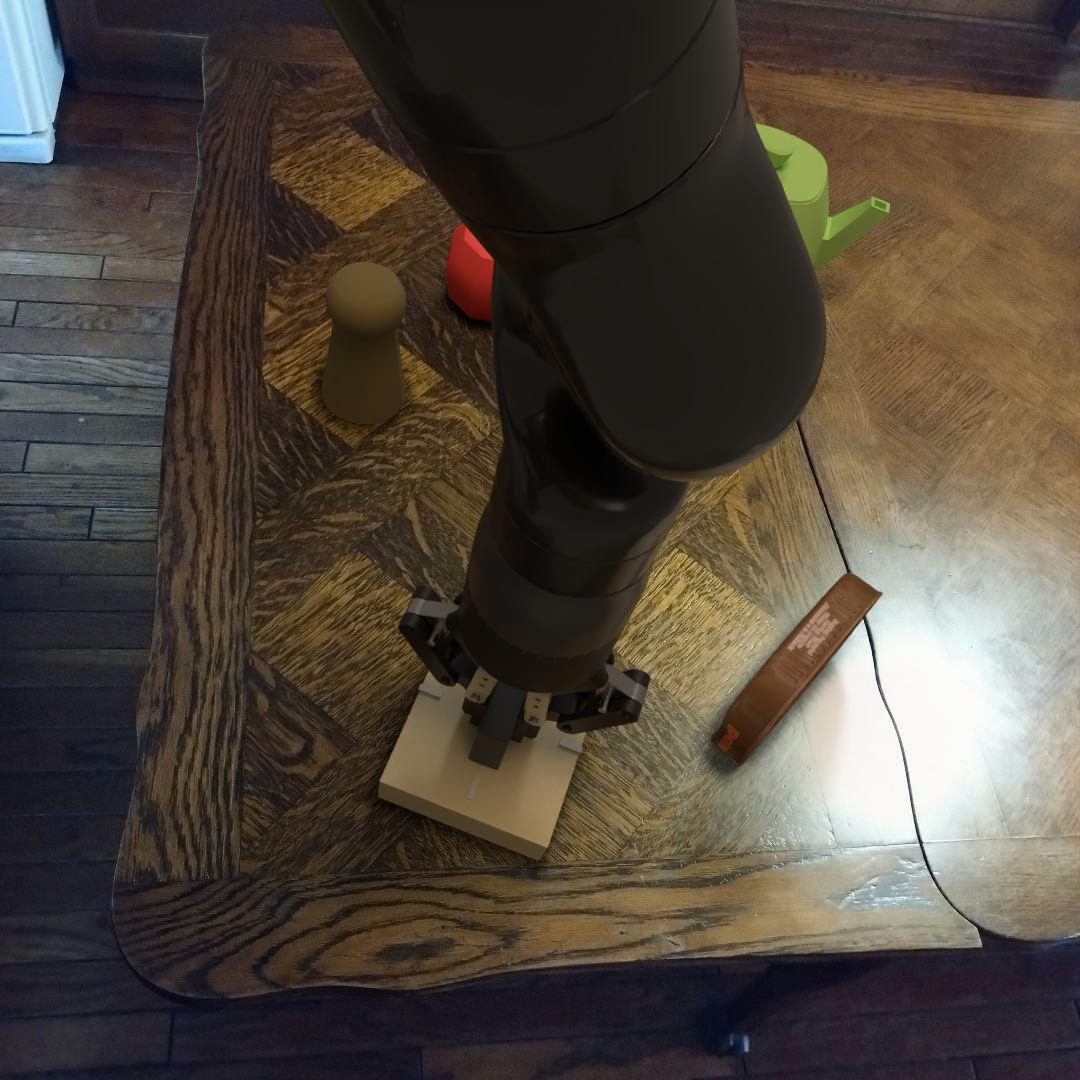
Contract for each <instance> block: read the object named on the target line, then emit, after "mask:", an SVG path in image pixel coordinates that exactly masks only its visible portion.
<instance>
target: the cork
mask: <svg viewBox="0 0 1080 1080" xmlns="http://www.w3.org/2000/svg"><path fill="white" fill-rule="evenodd" d="M324 294H325V307H326V308H325V309H326V311H327V312H326V313H327V315H328V316H329V319H330V320H331V322H332V326H331V333H330V338H329V343H328V348H327V353H326V354H327V355H326V360H325V366H324V370H323V377H322V383H321V387H320V388H321V389H320V390H321V399H322V400H323V402H324V404H325V406H326V408H327V409H328V411H330V412H331V413H332V414H333V415H334V416H336V417H337V418H339V419H340V420H343V421H345V422H347V423H353V424H356V425H375V424H378V423H382V422H385V421H388V420H389V419H390V418H392V417H394V416H396V414H397V413H398V412H399V411H400V409H401V408H402V406H403V405H404V401H405V398H406V391H405V383H404V373H403V366H402V364H403V363H402V357H401V356H402V355H401V347H400V346H401V345H400V339H399V330H398V328H399V326H400V325H401V324H402V321H403V320H404V317H405V313H406V311H407V303H408V302H407V295H406V290H405V287H404V285H403V284H402V281H401V279H400V278H399V277H398V276H397V275H396V274H395V273H394V272H393V271H392V270H391V269H390V268H388V267H386V266H384V265H383V264H380V263H376V262H370V261H356V262H353V263H348V264H346V265H344V266H343V267H341V268H339V269H338V270H337V271H336V272H335V273H334V274H333V275H332V276H331V278H330V279H329V282H328V284H327V287H326V289H325V293H324Z"/></svg>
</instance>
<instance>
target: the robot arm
mask: <svg viewBox="0 0 1080 1080" xmlns="http://www.w3.org/2000/svg"><path fill="white" fill-rule="evenodd" d="M319 1H320V4H321V5H322V7H323V9H324V10H325V12H326V14H327V15H328V17H329V19H330V20H331V22H332V24H333V25H334V27H335V29H336V31H337V32H338V33H339V35H340V37H341V38H342V41H343V42H344V44H345V46H346V47H347V49H348V50H349V52H350V54H351V56H352V58H353V59H354V60H355V62H356V63H357V65H358V67H359V68H360V70H361V71H362V73H363V75H364V77H365V79H366V80H367V82H368V83H369V85H370V87H371V89H372V90H373V92H374V94H375V95H376V96H377V98H378V99H379V101H380V102H381V104H382V105H383V108H384V109H385V110H386V112H387V114H388V115H389V117H390V118H391V120H392V121H393V123H394V124H395V126H396V127H397V129H398V130H399V132H400V133H401V135H402V137H403V138H404V140H405V142H406V143H407V144H408V146H409V148H410V149H411V151H412V152H413V154H414V155H415V157H416V158H417V160H418V161H419V163H420V165H421V166H422V168H423V169H424V171H425V172H426V174H427V176H428V178H429V179H430V180H431V182H432V183H433V185H434V186H435V187H436V189H437V190H438V191H437V192H439V194H440V195H441V197H442V198H443V199H444V201H445V202H446V203H447V204H448V207H450V209H451V210H452V211H453V213H454V214H455V216H456V217H457V219H459V221H460V222H462V223H463V224H464V225H465V226H466V227H467V229H468V230H469V231H470V232H471V233H472V234H473V236H474V237H475V238H476V239H477V240H478V242H479V243H480V244H481V245H482V246H483V248H484V249H485V250H486V251H487V252H488V254H489V255H490V256H491V257H492V258H493V260H494V266H493V274H492V283H491V321H490V323H491V337H492V338H491V339H492V351H493V366H494V378H495V389H496V390H495V392H496V393H495V394H496V401H497V406H498V411H499V418H500V424H501V433H502V446H501V449H500V453H499V456H498V459H497V462H496V468H495V472H494V477H493V481H492V486H491V489H490V494H489V499H488V501H487V503H486V505H485V507H484V509H483V511H482V514H481V515H480V517H479V520H478V523H477V527H476V530H475V533H474V538H473V542H472V547H471V551H470V556H469V561H468V564H467V569H466V574H465V580H464V584H463V589H462V592H460V593H459V594H458V595H457V596H455V598H454V599H453V602H446V601H443V600H442V598H441V597H440V595H439V594H438V592H437V591H436V590H434V589H433V588H431V587H429V586H426V585H418V586H417V587H416V589H415V590H414V593H413V595H412V596H411V599H410V601H409V603H408V605H407V607H406V609H405V611H404V613H403V615H402V618H401V619H400V621H399V623H398V626H397V629H398V631H399V632H400V633H401V635H402V636H403V637H404V639H405V640H406V641H407V643H408V645H409V646H410V647H411V648H412V650H413V651H414V653H415V655H417V656H418V658H419V659H420V660H421V662H422V663H423V664H424V666H425V667H426V669H427V670H428V671H430V673H431V674H432V675H433V677H434V678H435V679H436V680H437V681H438V682H439V683H441V684H442V685H445V686H448V687H454V686H455V685H456V683H458V684H460V685H461V686H462V687H463V688H464V689H465V690H466V691H465V698H464V702H463V705H462V710H463V712H464V713H466V714H469V715H471V719H470V722H469V723H470V724H473V725H475V726H478V727H479V725H480V722H481V720H482V717H483V715H484V712H485V710H486V707H487V705H488V702H489V700H490V697H491V695H492V692H493V690H494V687H495V686H496V684H497V682H498V681H500V682H501V683H503V684H505V685H507V686H510V687H512V688H515V689H518V690H522V691H526V692H527V695H526V699H525V702H524V704H523V707H522V710H521V712H520V715H519V718H518V720H517V723H516V726H515V728H514V731H513V733H512V736H511V740H513V741H516V742H518V743H521V741H522V739H523V737H524V736H525V737H527V738H530V739H533V738H536V737H537V734H538V732H539V730H540V728H541V726H544V724H545V721H554V722H557V724H556V727H557V728H558V729H559V730H560V731H562V732H564V733H567V734H579V733H584V732H586V733H589V732H595V731H600V730H605V729H609V728H615V727H619V726H624V725H630V724H635V723H637V722H638V721H639V718H640V714H641V713H642V708H643V707H644V703H645V700H646V697H647V694H648V693H647V692H648V689H649V685H650V682H651V675H650V674H649V673H647V672H646V671H644V670H641V669H638V668H631V669H627V670H623V671H621V670H620V669H618V668H617V667H616V666H615V665H614V664H615V658H616V657H615V652H614V650H613V649H614V648H615V646H616V644H617V643H618V641H619V639H620V637H621V635H622V634H623V632H624V630H625V628H626V626H627V625H628V623H629V621H630V619H631V617H632V616H633V614H634V611H635V609H636V608H637V606H638V604H639V602H640V601H641V598H642V597H643V595H644V593H645V590H646V588H647V586H648V583H649V580H650V578H651V573H652V570H653V566H654V562H655V559H656V558H657V556H658V554H659V552H660V550H661V548H662V546H663V545H664V542H665V541H666V539H667V537H668V536H669V534H670V532H671V529H672V528H673V526H674V524H675V522H676V520H677V518H678V516H679V515H680V513H681V511H682V509H683V505H684V503H685V500H686V498H687V495H688V492H689V489H690V487H691V483H692V482H701V481H707V480H713V479H716V478H721V477H723V476H726V475H728V474H732V473H734V472H736V471H738V470H741V469H743V468H745V467H747V466H748V465H750V464H751V463H753V462H755V461H756V460H758V459H759V458H761V457H762V456H764V455H765V454H767V453H768V452H769V451H770V450H772V449H773V448H774V447H775V446H776V445H777V444H778V443H780V442H781V440H783V438H785V436H786V435H787V434H788V433H789V432H790V430H791V429H792V428H794V426H795V425H796V423H797V422H798V420H799V419H800V417H801V416H802V414H803V412H804V411H805V409H806V408H807V406H808V404H809V403H810V400H811V398H812V396H813V393H814V392H815V389H816V387H817V385H818V382H819V380H820V375H821V373H822V369H823V365H824V362H825V355H826V349H827V348H826V347H827V315H826V310H825V303H824V299H823V294H822V289H821V287H820V283H819V280H818V277H817V274H816V271H815V270H816V269H815V268H814V267H813V264H812V262H811V259H810V256H809V253H808V251H807V248H806V245H805V243H804V240H803V238H802V235H801V232H800V230H799V227H798V225H797V222H796V220H795V217H794V214H793V212H792V209H791V207H790V204H789V201H788V199H787V196H786V194H785V191H784V188H783V186H782V183H781V181H780V179H779V177H778V175H777V172H776V170H775V168H774V166H773V164H772V162H771V160H770V158H769V155H768V153H767V151H766V149H765V147H764V144H763V142H762V140H761V137H760V135H759V133H758V131H757V128H756V125H755V123H756V122H755V120H754V117H753V114H752V112H751V109H750V106H749V102H748V99H747V94H746V83H745V82H746V81H745V80H746V79H745V69H744V57H743V56H744V55H743V49H742V44H741V43H742V42H741V32H740V26H739V19H738V12H737V11H738V10H737V4H736V0H319ZM462 223H461V224H462Z"/></svg>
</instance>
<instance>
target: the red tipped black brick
mask: <svg viewBox="0 0 1080 1080" xmlns="http://www.w3.org/2000/svg"><path fill="white" fill-rule="evenodd" d="M526 695H527V692H526V691H522V690H518V689H515V688H512V687H510V686H507V685H505V684H503V683H501V682H500V681H498V682H497V684H496V686H495V687H494V690H493V692H492V695H491V697H490V700H489V702H488V705H487V707H486V710H485V712H484V715H483V717H482V720H481V722H480V725H479V727H478V730H477V733H476V736H475V739H474V742H473V745H472V748H471V751H470V754H469V759H470V760H472V761H475V762H477V763H480V764H482V765H485V766H487V767H490V768H492V769H495V770H498V768H499V766H500V763H501V761H502V758H503V756H504V754H505V751H506V749H507V746H508V744H509V741H510V739H511V736H512V733H513V731H514V728H515V726H516V723H517V720H518V718H519V715H520V712H521V710H522V707H523V704H524V702H525V699H526Z"/></svg>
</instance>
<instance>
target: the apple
mask: <svg viewBox="0 0 1080 1080" xmlns="http://www.w3.org/2000/svg"><path fill="white" fill-rule="evenodd" d="M450 238H451V239H450V241H449V245H448V250H447V251H448V252H447V257H446V263H445V268H444V269H445V278H446V285H447V292H448V298H450V299H451V300H452V301H453V302H454V303H455V305H457V307H459V309H461V311H462V312H464V313H465V314H466V315H467V317H468V318H470V319H475V320H480V321H486V322H491V283H492V274H493V266H494V260H493V258H492V257H491V256H490V255H489V254H488V252H487V251H486V250H485V249H484V248H483V246H482V245H481V244H480V243H479V242H478V240H477V239H476V238H475V237H474V236H473V234H472V233H471V232H470V231H469V230H468V229H467V227H466V226H465V225H464V224H463V223H461V224H459V226H457V227H455V228H454V230H453V233H452V236H451V237H450Z"/></svg>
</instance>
